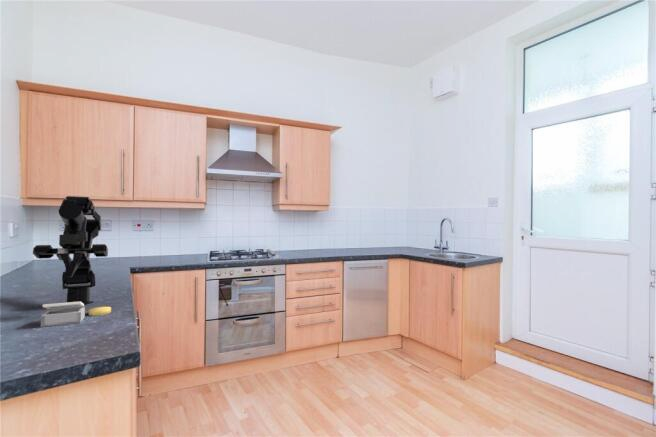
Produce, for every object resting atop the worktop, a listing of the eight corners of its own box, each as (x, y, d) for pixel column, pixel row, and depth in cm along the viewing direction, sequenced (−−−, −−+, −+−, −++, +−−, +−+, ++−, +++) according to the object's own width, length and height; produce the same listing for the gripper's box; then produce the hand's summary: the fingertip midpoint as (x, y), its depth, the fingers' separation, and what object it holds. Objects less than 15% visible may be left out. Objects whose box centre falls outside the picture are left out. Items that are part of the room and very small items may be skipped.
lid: (48, 309, 98) (48, 307, 98) (83, 306, 102) (84, 304, 103) (42, 306, 93) (42, 304, 93) (80, 303, 97) (80, 301, 97)
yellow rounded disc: (103, 310, 111) (103, 306, 111) (115, 312, 108) (115, 307, 108) (84, 314, 105) (84, 309, 105) (96, 316, 103) (96, 311, 103)
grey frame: (47, 320, 98) (47, 309, 98) (84, 316, 103) (84, 306, 103) (40, 327, 92) (41, 315, 92) (80, 322, 96) (80, 311, 96)
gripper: (31, 221, 98) (23, 272, 93) (106, 222, 107) (102, 268, 102) (41, 234, 107) (34, 281, 102) (109, 234, 116) (106, 277, 111)
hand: (70, 277), depth 104 cm, fingers closed
